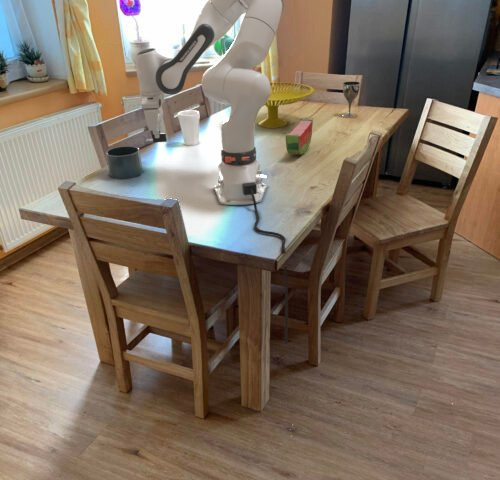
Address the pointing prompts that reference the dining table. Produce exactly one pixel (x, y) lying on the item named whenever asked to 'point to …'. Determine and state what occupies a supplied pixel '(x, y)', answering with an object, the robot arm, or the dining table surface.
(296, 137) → the fruit slice
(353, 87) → the wine glass
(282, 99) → the cake stand
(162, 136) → the two-tone pronged bar
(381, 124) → the dining table surface
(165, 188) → the dining table surface
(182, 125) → the foam cup
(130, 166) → the blue-grey round hollow container
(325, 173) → the dining table surface
